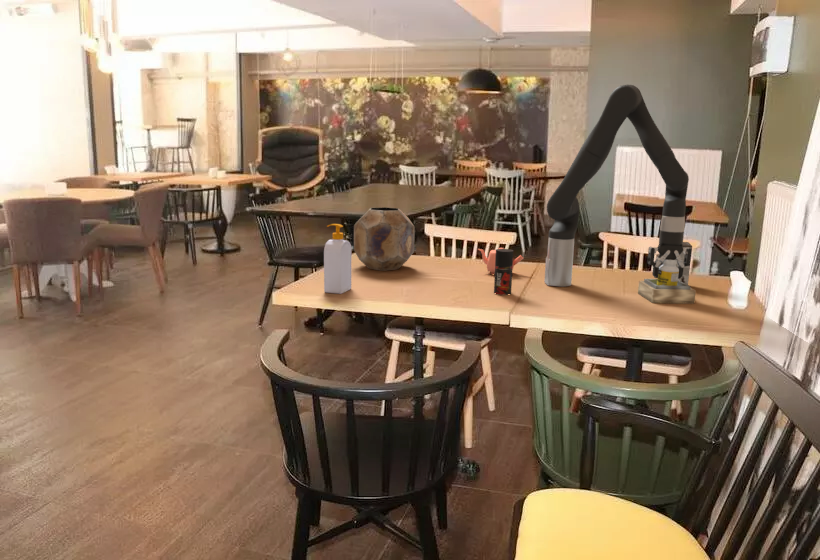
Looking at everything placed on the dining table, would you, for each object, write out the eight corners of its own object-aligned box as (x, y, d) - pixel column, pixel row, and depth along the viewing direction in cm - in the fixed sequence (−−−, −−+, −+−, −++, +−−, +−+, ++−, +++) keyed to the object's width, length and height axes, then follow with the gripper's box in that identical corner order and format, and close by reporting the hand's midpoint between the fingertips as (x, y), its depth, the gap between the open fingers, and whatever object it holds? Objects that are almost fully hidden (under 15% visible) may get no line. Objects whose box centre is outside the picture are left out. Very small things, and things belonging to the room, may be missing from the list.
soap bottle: (333, 287, 239) (333, 222, 234) (351, 288, 237) (351, 223, 232) (322, 292, 230) (321, 225, 226) (340, 294, 228) (340, 226, 223)
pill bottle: (652, 290, 234) (656, 257, 232) (670, 291, 235) (674, 257, 232) (660, 294, 228) (665, 260, 225) (679, 295, 228) (683, 261, 226)
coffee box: (665, 283, 256) (670, 241, 253) (683, 284, 255) (688, 241, 252) (669, 288, 247) (674, 244, 244) (688, 289, 246) (693, 245, 243)
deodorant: (512, 292, 236) (514, 249, 233) (509, 295, 231) (511, 252, 228) (495, 290, 238) (497, 248, 235) (492, 294, 233) (494, 250, 229)
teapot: (506, 269, 277) (507, 244, 275) (523, 274, 267) (525, 249, 265) (476, 272, 271) (477, 246, 268) (493, 277, 260) (494, 251, 258)
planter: (413, 273, 265) (414, 212, 260) (351, 272, 265) (351, 211, 260) (413, 263, 286) (415, 206, 282) (356, 261, 287) (356, 205, 282)
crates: (652, 302, 224) (653, 286, 223) (637, 293, 238) (639, 277, 237) (694, 303, 225) (696, 287, 224) (677, 293, 238) (679, 278, 237)
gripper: (654, 230, 223) (650, 279, 226) (698, 231, 223) (692, 280, 226) (646, 227, 230) (642, 275, 234) (688, 228, 230) (683, 276, 234)
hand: (667, 277), depth 230 cm, fingers open, 7 cm apart
